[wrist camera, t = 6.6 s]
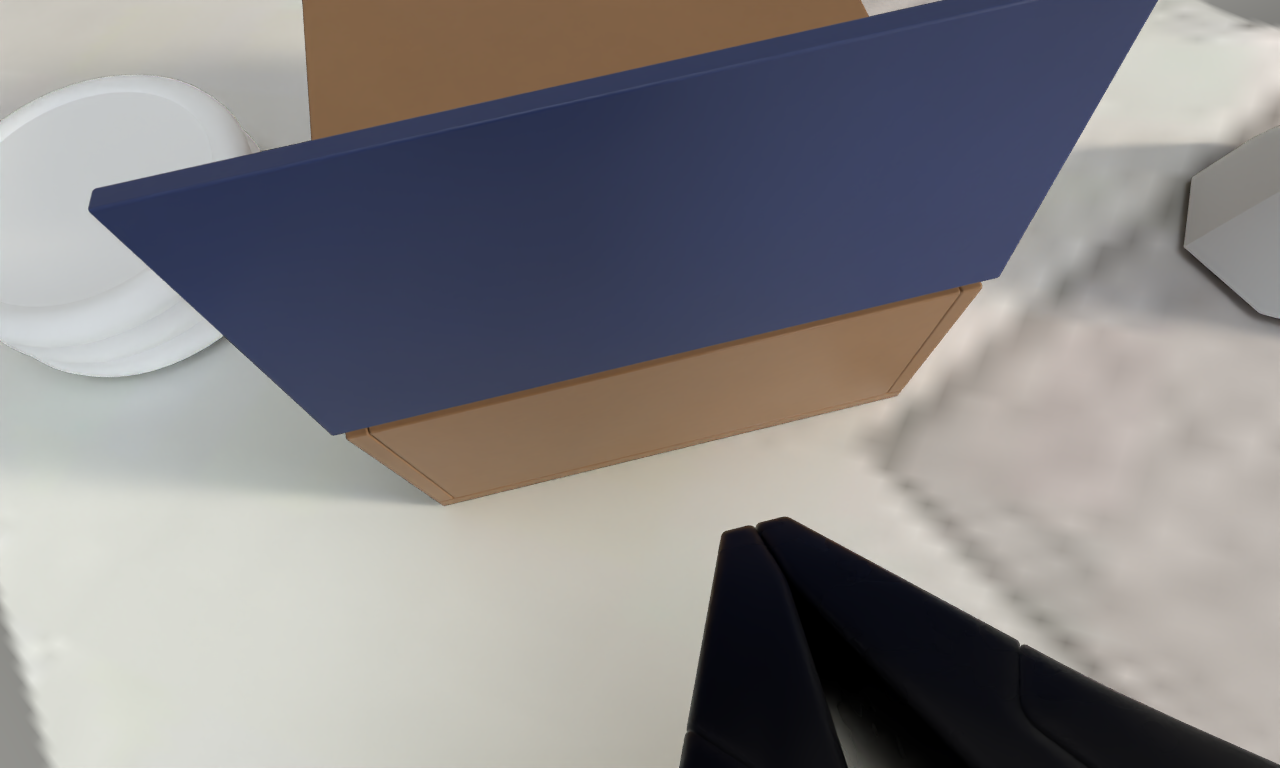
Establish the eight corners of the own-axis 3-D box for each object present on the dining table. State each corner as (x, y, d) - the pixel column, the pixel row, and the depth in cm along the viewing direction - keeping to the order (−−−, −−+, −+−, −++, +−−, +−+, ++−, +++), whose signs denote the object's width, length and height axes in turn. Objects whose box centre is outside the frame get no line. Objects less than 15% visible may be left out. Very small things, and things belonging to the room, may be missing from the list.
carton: (898, 395, 21) (999, 267, 14) (443, 506, 21) (326, 427, 14) (769, 80, 26) (800, -125, 19) (399, 163, 26) (298, -18, 19)
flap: (990, 263, 15) (998, 278, 14) (331, 419, 14) (331, 436, 14) (1160, -50, 9) (1179, -34, 9) (90, 186, 9) (85, 210, 8)
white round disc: (-9, 215, 26) (-108, 150, 22) (248, 100, 27) (189, 22, 24) (47, 438, 22) (-62, 398, 19) (338, 291, 24) (284, 231, 20)
